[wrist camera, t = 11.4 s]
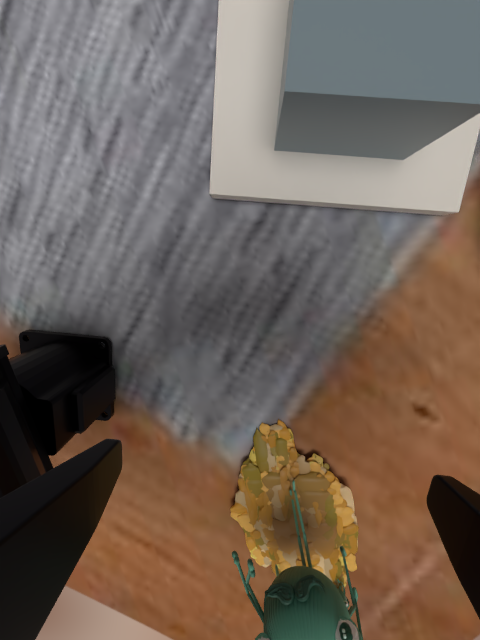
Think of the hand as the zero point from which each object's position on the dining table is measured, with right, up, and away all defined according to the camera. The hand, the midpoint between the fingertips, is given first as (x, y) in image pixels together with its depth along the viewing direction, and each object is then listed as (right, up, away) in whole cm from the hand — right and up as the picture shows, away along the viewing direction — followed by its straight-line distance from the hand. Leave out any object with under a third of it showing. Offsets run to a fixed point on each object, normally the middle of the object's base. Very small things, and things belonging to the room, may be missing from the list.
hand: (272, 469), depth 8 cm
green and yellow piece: (+3, -12, +15) cm, 20 cm away
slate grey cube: (+5, +17, +6) cm, 18 cm away
